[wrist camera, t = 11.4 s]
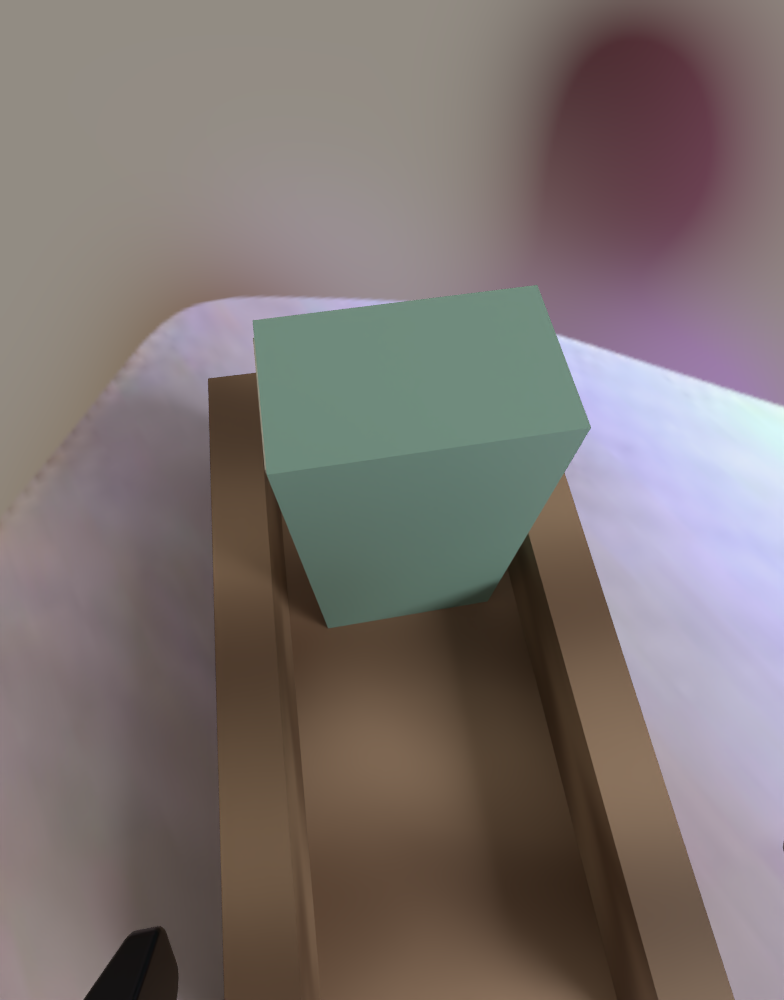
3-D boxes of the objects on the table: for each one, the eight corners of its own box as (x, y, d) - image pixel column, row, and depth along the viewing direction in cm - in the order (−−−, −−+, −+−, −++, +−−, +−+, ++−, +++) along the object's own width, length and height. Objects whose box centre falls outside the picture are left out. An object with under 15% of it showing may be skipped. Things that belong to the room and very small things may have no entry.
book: (487, 601, 18) (590, 427, 9) (326, 628, 18) (263, 475, 8) (466, 514, 19) (536, 284, 10) (315, 537, 19) (249, 320, 10)
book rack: (662, 997, 15) (758, 1074, 11) (272, 1079, 14) (229, 1194, 10) (498, 414, 22) (521, 340, 19) (239, 447, 22) (208, 378, 18)
